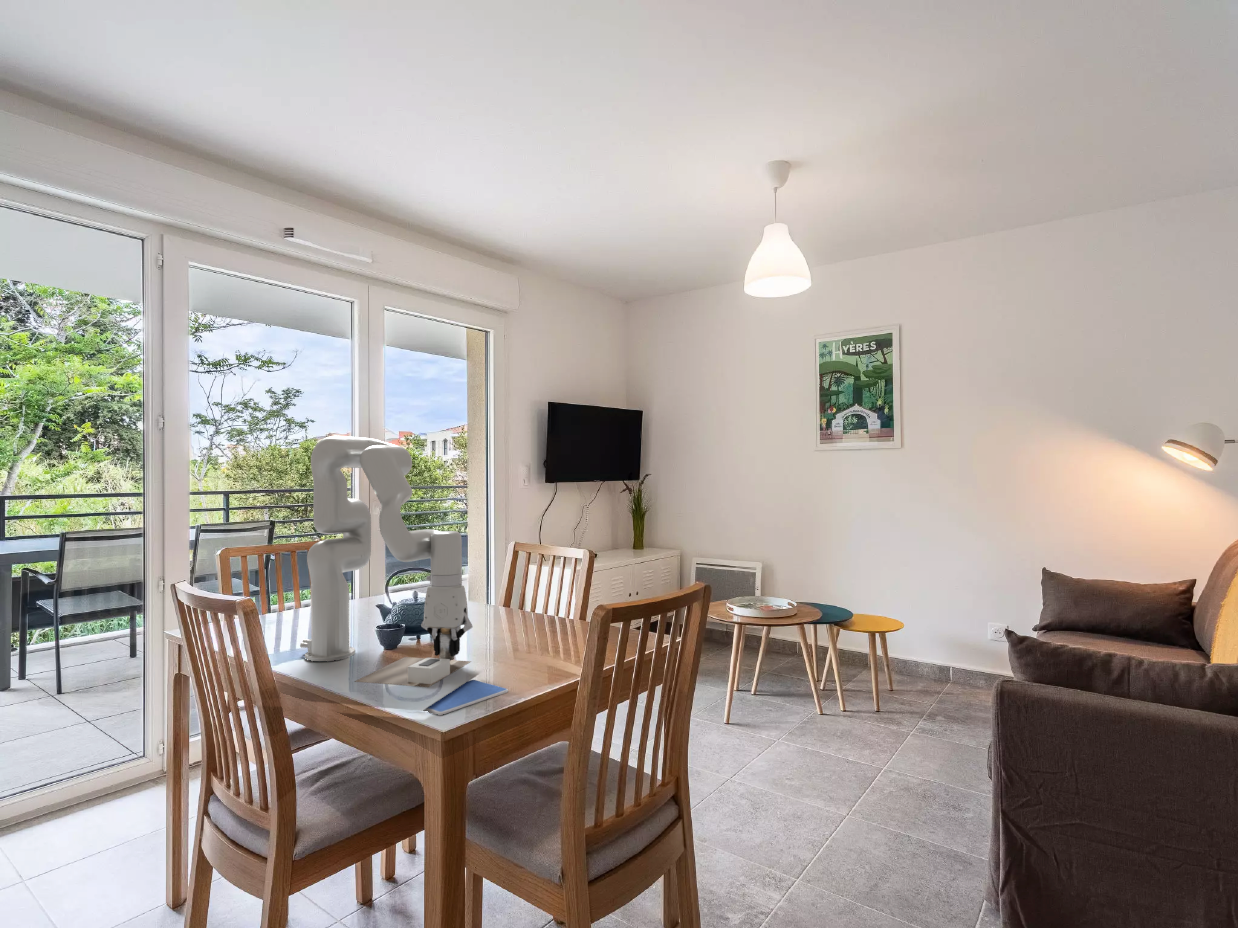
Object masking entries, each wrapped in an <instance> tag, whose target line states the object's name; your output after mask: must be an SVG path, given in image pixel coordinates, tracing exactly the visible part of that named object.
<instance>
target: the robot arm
mask: <svg viewBox="0 0 1238 928" xmlns="http://www.w3.org/2000/svg"><path fill="white" fill-rule="evenodd" d="M412 467H413V460H412V455H411V454H410V452H409V451H408V450H407V449H406V448H404V447H403V446H400V445H397V444H392V443H389V442H386V441H381V440H379V439H375V438H369V437H358V436H348V435H333V436H327V437H325V438H322V439H321V440H319V441H318V442H317V443H316V444H315V446H314V447H313V449H312V452H311V455H310V469H311V472H312V473H311V474H312V481H313V506H312V507H313V509H312V510H313V525H314V529H315V530H316V531H317V532H318V533H320V534H322V535H323V534H324V535H335V534H336V535H337V534H338V535H339V534H342V537H338V538H330V539H323V540H320V541H317V542H316V543H314V544H313V545H312V546H310V547H309V550H308V552H307V555H306V561H307V567H308V571H309V572H308V573H309V578H310V579H309V581H310V599H311V600H310V605H311V608H310V610H311V611H310V612H311V613H310V614H311V615H310V618H311V620H310V624H311V625H310V628H311V630H310V632H311V635H310V636H311V637H310V638H304V639H303V640H302V642H301V643H300V645H299V646H300V648H301V649H302V648H304V649H305V648H307V651H306V653H305V654H304V659H305V658H306V659H308V660H311V661H310V662H313V661H327V662H333V661H334V660H336V661H340V659H341V660H344V659H347V658H348V659H349V658H351V657H352V656H354V655H356V648H355V647H354V646H350V587H349V584H348V582H347V580H346V577H345V576H344V574H343V573H347V572H352V571H358V570H361V569H363V568H365V567H366V566H367V565H368V564H369V561H370V558H371V555H372V515H371V510H370V508H369V507H368V505H367V503H365V502H364V501H363V500H361V499H359V498H349V497H348V482H347V479H346V477H345V474H344V473H343V471H342V470H341V469H343V468H349V469H350V468H351V469H362V471H363V472H364V475H365V476H366V479H367V480H368V482H369V484H370V486H371V487H372V490H373V491H374V494H375V496H376V497H377V499H378V501H379V503H380V511H379V517H378V520H379V521H378V522H379V523H378V525H379V526H378V528H379V532H380V535H381V538H382V539H383V541H384V543H385V545H386V546H387V548H388V550H389V552H390V554H391V555H392V557H394V558H395V559H396V560H398V561H399V562H403V563H409V562H415V561H419V560H421V561H423V560H426V559H427V560H428V559H430V574H429V575H427V576H426V582H429V583H430V585H429V586H427V589H426V592H425V593H426V594H425V599H424V609H423V620H422V622H421V624H420V626H421V628H422V629H424V630H426V631H427V633H429V635H430V636H431V639H432V640H433V651H434V656H439V633H440V632H441V628H451V633H452V640H451V641H450V656H454V657H455V656H457V655H459V653H460V649H461V647H460V645H461V643H460V642H461V640H460V639H461V638H462V636H463V635H464V634H465V633H466V632H468V631H469V630H471V629H472V628H473V624H472V621H470V618H469V612H468V609H469V607H468V600H467V592H466V589H465V585H463V577H462V576H463V562H462V561H463V558H462V557H463V553H462V551H463V549H462V548H463V546H462V545H463V544H462V543H463V541H462V535H461V533H460V532H459V531H457V530H437V529H431V528H429V529H428V528H427V529H425V528H424V529H416V530H409V529H408V528H407V526H406V524H405V522H404V520H403V518H402V514H401V508H402V506H403V505H404V504H405V503H406V502H408V501H409V500H410V499H411V497H412V496H413V489H412V487H411V485H410V483H409V482H408V480H407V478H406V475H408V474H409V473H410V472H411V470H412ZM461 626H463V627H462V628H461ZM306 659H305V660H306ZM308 660H307V661H308Z"/></svg>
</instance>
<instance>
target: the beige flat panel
mask: <svg viewBox="0 0 1238 928" xmlns="http://www.w3.org/2000/svg"><path fill="white" fill-rule="evenodd" d="M426 658H427V657H426ZM426 658H424V657H423V658H422V657H410V656H404V657H402V658H400V659H397V660H395V661H394V662H392V663H389V664H387V665H385V666H383V667H381V668H379V669H376V670H375V671H372V672H370V673H369V674H367V675H364V676H363V677H360V678H359V679H357V680H354V682H355V683H356V682H357V683H369V684H370V683H371V684H383V685H393V686H395V685H396V686H397V685H398V686H409V687H418V688H419V687H422V688H430V687H432V686H433V685H435V684H437V683H438V682H440V681H441V680H443V679H445V678H447V677H448V676H449V675H452V674H453V673H455V672H456V671H458V670H459V669H460V670H461V668H464V667H465V666H467V665H468V664H470V663H471V662H472V661H470V660H458V659H457V660H456V659H453V660H450V674H449V675H447V676H445V677H443V678H442V679H440V680H438V681H436V682H434V683H432V684H423V683H413V682H408V666H410V665H413V664H415V663H417V662H419V661H421V660H423V659H426Z"/></svg>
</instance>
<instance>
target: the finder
mask: <svg viewBox="0 0 1238 928" xmlns="http://www.w3.org/2000/svg"><path fill="white" fill-rule="evenodd" d="M449 674H450V659H440V658H439V657H426V659H423V660H421V661H419V662H417V663H415V664H413V665H410V666H408V682H413V683H423V684H432V683H434V682H436V681H438V680H440V679H442V678H443V677H445V676H447V675H448V676H449ZM450 675H451V674H450ZM448 676H447V677H448ZM445 678H446V677H445ZM443 679H444V678H443ZM443 679H442V680H443ZM440 681H441V680H440ZM438 682H439V681H438Z"/></svg>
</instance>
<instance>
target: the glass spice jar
mask: <svg viewBox="0 0 1238 928" xmlns="http://www.w3.org/2000/svg"><path fill="white" fill-rule="evenodd" d="M451 640H452V633H451V628H441V632H440V633H439V655H438V656H439V657H438V658H440V659H450V660H455V656H450V641H451Z"/></svg>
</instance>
